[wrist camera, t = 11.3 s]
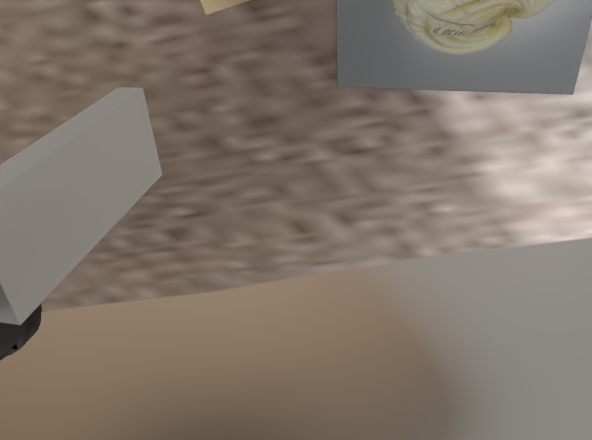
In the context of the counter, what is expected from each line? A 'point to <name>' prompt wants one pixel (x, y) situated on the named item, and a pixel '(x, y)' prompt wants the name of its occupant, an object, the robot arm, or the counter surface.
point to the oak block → (219, 5)
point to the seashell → (464, 21)
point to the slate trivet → (465, 67)
